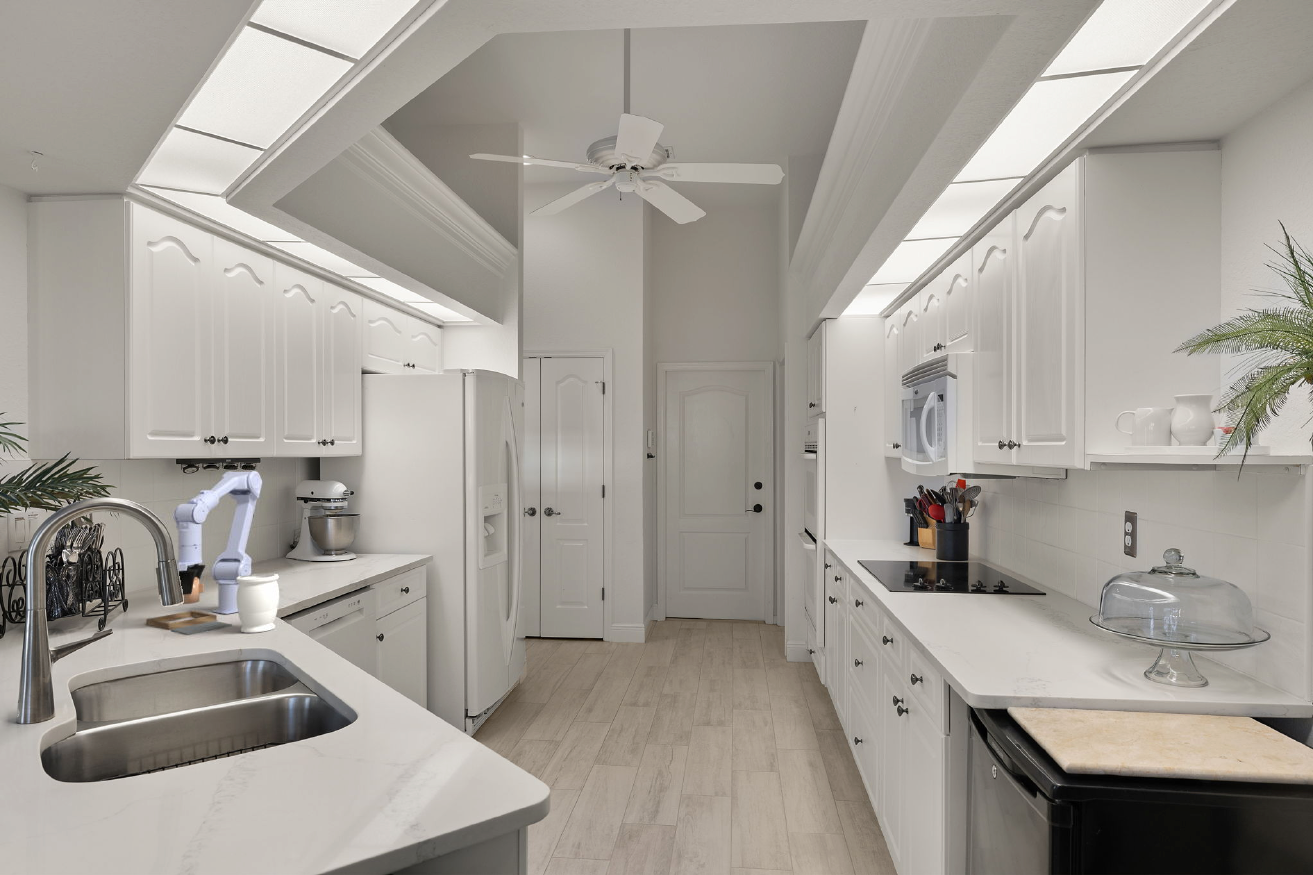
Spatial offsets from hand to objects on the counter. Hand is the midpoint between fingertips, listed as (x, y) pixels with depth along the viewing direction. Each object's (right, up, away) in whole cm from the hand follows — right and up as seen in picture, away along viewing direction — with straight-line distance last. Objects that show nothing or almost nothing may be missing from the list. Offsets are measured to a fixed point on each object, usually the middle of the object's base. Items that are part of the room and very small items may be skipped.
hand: (189, 592), depth 213 cm
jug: (0, -3, 0) cm, 3 cm away
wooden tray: (-4, -10, +3) cm, 11 cm away
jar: (+23, -9, -7) cm, 26 cm away
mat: (+6, -9, -4) cm, 12 cm away
